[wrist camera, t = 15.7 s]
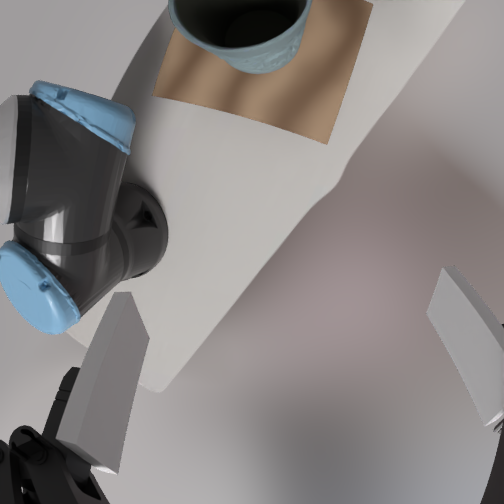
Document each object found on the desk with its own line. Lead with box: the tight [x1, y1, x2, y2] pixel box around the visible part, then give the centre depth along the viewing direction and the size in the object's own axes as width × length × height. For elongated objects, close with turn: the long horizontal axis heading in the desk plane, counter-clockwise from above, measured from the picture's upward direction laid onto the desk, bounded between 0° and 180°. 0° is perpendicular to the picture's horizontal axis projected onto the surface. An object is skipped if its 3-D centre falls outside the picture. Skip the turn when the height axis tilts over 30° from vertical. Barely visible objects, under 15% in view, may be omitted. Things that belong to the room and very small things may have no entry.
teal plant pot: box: [168, 0, 312, 74], centre depth 19 cm, size 10×10×12 cm
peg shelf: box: [152, 0, 373, 145], centre depth 28 cm, size 20×18×8 cm
